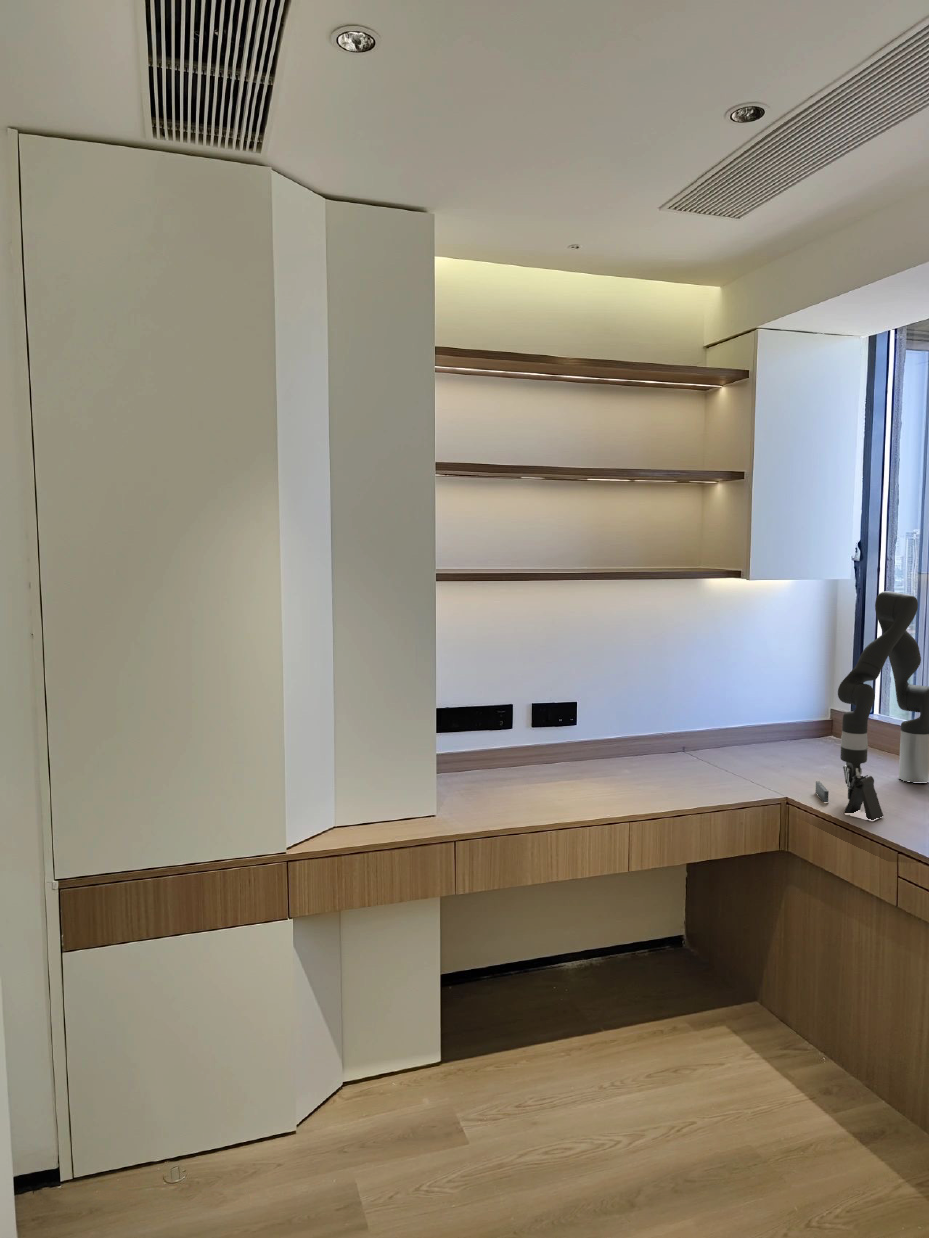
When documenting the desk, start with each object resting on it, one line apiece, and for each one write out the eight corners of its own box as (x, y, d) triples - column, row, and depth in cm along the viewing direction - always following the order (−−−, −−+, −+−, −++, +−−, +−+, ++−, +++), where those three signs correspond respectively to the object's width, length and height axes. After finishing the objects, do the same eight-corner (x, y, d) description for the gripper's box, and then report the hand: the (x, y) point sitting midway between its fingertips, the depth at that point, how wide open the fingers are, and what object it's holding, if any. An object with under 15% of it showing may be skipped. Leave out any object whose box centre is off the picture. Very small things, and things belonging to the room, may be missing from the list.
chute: (815, 793, 270) (815, 781, 270) (865, 795, 267) (866, 783, 267) (824, 803, 259) (824, 791, 259) (876, 805, 257) (876, 793, 256)
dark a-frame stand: (883, 817, 245) (884, 778, 244) (872, 822, 242) (873, 783, 240) (854, 809, 252) (855, 772, 251) (843, 814, 249) (844, 776, 247)
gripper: (873, 751, 248) (871, 807, 250) (860, 741, 261) (858, 794, 263) (847, 750, 249) (845, 806, 251) (835, 740, 262) (833, 793, 264)
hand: (852, 800), depth 257 cm, fingers closed
